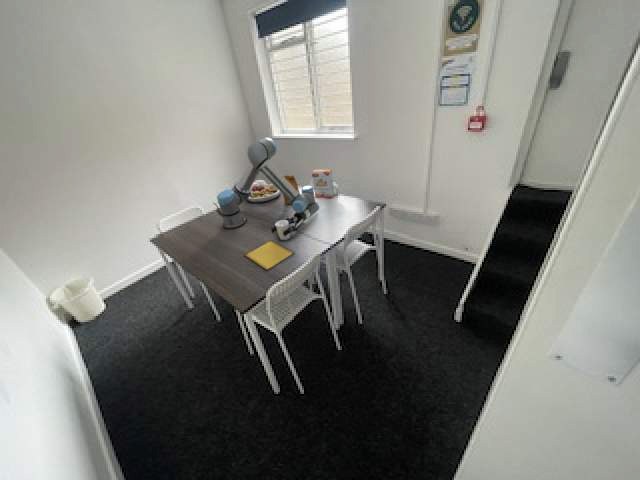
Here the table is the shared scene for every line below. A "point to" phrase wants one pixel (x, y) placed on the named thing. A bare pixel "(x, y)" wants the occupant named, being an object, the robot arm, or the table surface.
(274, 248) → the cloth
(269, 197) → the bowl
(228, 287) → the table surface
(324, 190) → the cracker box
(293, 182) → the coffee package
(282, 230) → the white cup
